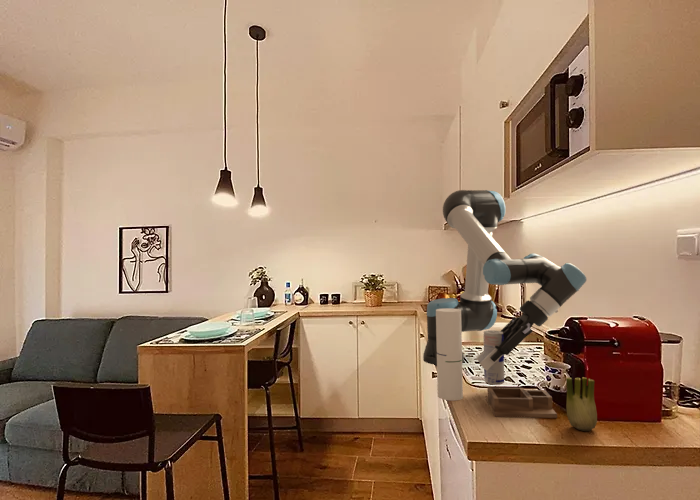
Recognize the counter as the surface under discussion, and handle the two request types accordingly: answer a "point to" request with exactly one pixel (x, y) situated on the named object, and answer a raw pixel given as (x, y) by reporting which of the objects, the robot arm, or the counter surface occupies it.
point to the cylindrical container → (449, 354)
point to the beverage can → (497, 369)
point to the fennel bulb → (581, 404)
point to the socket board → (520, 403)
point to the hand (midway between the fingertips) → (481, 364)
